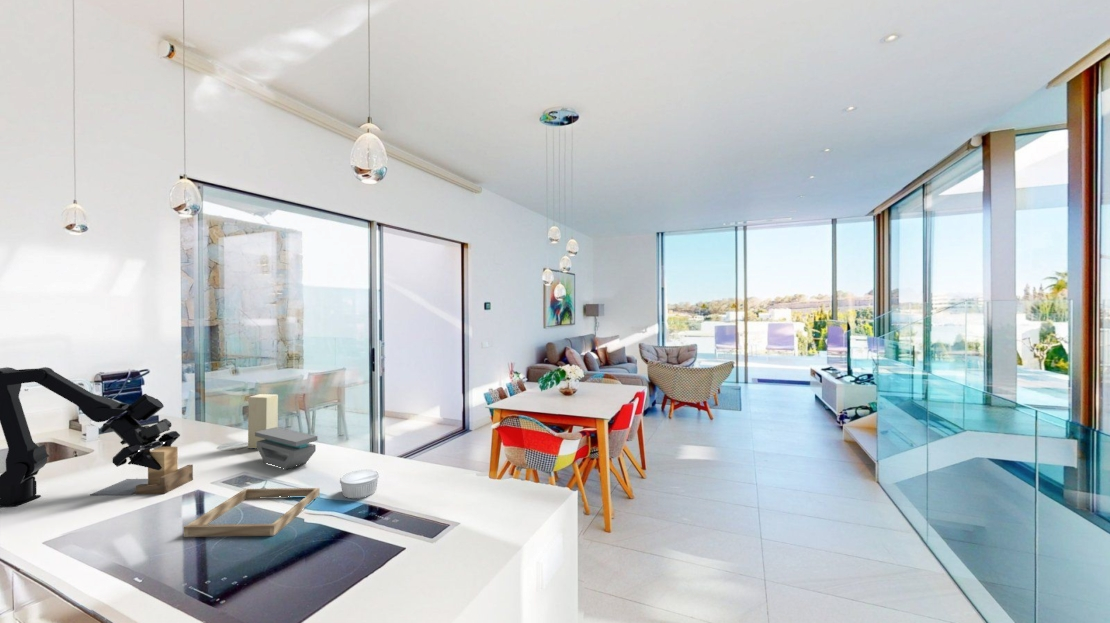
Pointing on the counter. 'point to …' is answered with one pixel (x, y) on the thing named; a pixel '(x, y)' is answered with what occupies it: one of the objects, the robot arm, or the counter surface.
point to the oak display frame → (203, 530)
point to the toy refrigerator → (261, 416)
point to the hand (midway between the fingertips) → (167, 466)
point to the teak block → (163, 463)
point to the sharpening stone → (285, 447)
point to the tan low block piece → (168, 481)
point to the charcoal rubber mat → (122, 487)
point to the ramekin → (359, 483)
